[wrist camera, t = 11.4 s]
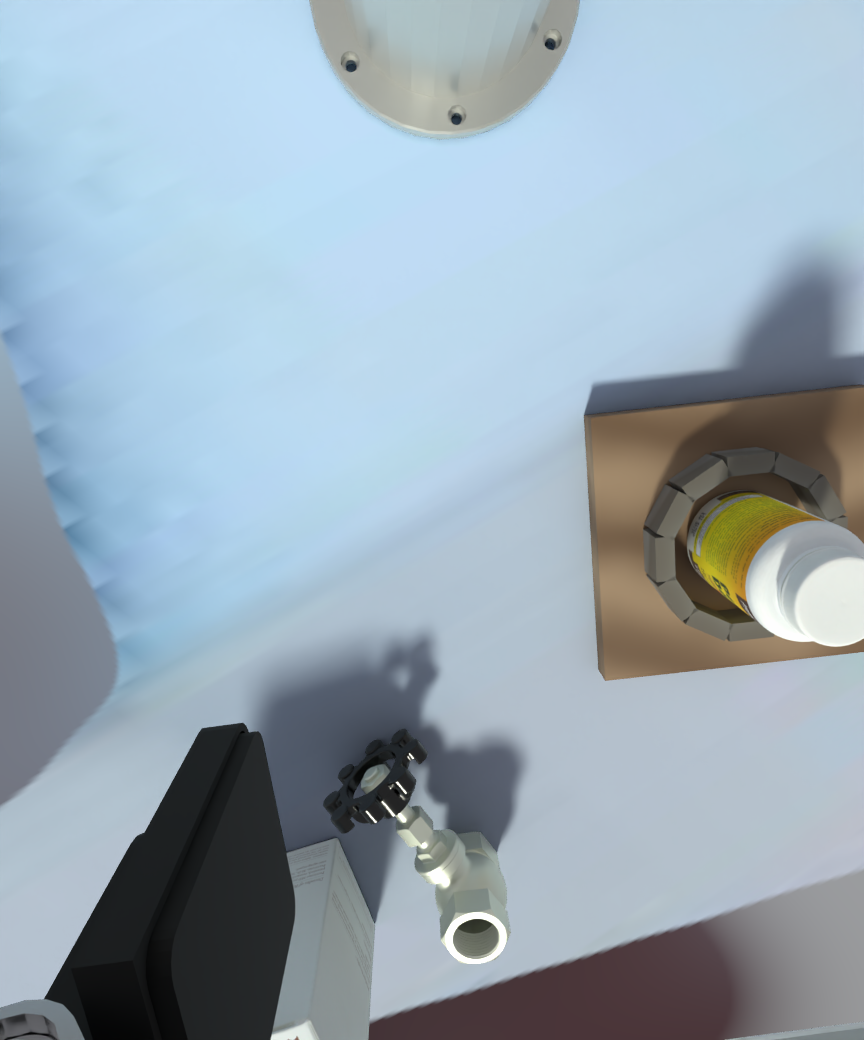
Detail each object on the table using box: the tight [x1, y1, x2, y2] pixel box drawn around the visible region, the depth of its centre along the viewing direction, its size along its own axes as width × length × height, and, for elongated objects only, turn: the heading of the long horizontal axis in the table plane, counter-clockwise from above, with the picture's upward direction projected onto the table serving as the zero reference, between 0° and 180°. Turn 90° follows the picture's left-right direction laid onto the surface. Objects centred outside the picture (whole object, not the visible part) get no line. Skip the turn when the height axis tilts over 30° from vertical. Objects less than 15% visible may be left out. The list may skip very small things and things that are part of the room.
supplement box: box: [271, 838, 375, 1040], centre depth 39 cm, size 7×7×13 cm
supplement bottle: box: [687, 490, 864, 647], centre depth 34 cm, size 6×6×10 cm
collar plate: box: [584, 385, 864, 681], centre depth 39 cm, size 15×15×4 cm
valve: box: [323, 729, 511, 964], centre depth 41 cm, size 7×7×12 cm
